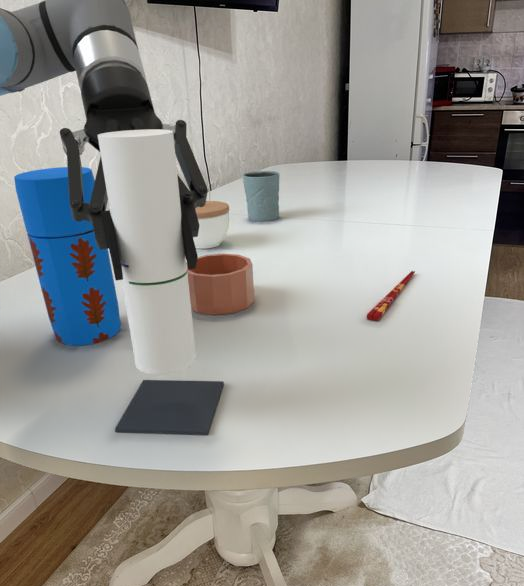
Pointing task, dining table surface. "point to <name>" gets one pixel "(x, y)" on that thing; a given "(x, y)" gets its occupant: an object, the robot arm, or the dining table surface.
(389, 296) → the chopstick
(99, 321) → the thermos
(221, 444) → the dining table surface
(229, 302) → the crock
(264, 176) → the grey-green textured cup
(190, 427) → the mat
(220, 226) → the lidded bowl
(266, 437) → the dining table surface
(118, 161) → the cylindrical container
